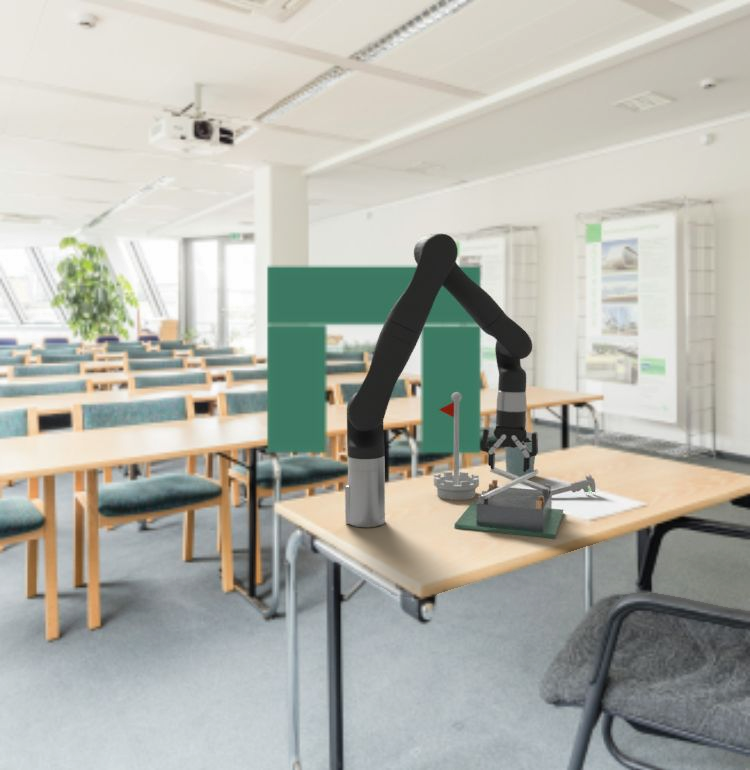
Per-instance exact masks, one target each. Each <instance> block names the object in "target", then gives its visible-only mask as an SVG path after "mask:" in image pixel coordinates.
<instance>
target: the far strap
mask: <svg viewBox="0 0 750 770" xmlns="http://www.w3.org/2000/svg"><path fill="white" fill-rule="evenodd" d="M489 472H490V473H493V474H495V475H498V476H500V477H503V478H505V479H508V480H511V481H513V480H515V479H517V478H519V476H517V475H514V474H511V473H509V472H506V470H504V469H501V468H498V467H496V466H495V467H494V468H491V467H490V470H489ZM519 484H522V485H523V486H527V487H529V488H530V489H531V488H532V489H534V490H539V491H542V492H543V488H546V489H549V490H550V488H549V487H545V485H543V484H540V483H537V482H534V481H532V480H529V479H527V480H525V481H523V482H520V483H519Z"/></svg>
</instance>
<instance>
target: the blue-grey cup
mask: <svg viewBox="0 0 750 770" xmlns="http://www.w3.org/2000/svg"><path fill="white" fill-rule="evenodd" d="M523 442H524V443H525V445H526V446H527V448H528V450H529V451H532V441H530V440H529V437H527V436H526V438H525V439H524V440H523ZM504 453H505V454H504V455H505V456H504V457H505V459H504V460H505V471H506V472H509V473H511V474H514V475H517V476H519V477H521V476H523V475H525V474H528V473H530V472H532V471H534V470H535V459H536V456H532V457H530V468H529V469H528V470H527V471H526V472H523V467H524V457H525V456H524V454H523V453H522V451H520V449H519V448H518V447H515V448H512V447H504ZM532 478H533V477H531V478H530V479H532Z"/></svg>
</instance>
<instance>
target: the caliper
mask: <svg viewBox="0 0 750 770" xmlns="http://www.w3.org/2000/svg"><path fill="white" fill-rule="evenodd" d="M589 488H590V491H589ZM582 490H583V492H584V493H585V492H588V491H589V492H591V491H592V492H595V493H596V482H595V479H594V478H593V477H592V474H588V476H587V475H585V479H581V480H577V481H574V482H573V481H572V482H571V483H570V484H568V485H564V486H560V487H557V488H552V489H551V491H552V496H555V495H560V494H563V493H567V492H571V493H576V492H580V491H582ZM592 492H591V493H592Z"/></svg>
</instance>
